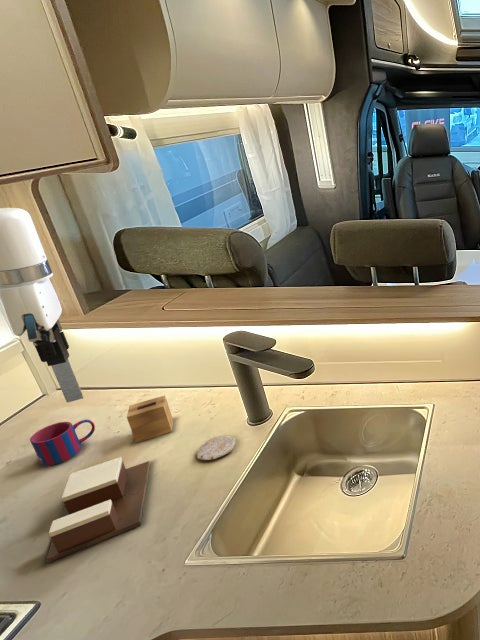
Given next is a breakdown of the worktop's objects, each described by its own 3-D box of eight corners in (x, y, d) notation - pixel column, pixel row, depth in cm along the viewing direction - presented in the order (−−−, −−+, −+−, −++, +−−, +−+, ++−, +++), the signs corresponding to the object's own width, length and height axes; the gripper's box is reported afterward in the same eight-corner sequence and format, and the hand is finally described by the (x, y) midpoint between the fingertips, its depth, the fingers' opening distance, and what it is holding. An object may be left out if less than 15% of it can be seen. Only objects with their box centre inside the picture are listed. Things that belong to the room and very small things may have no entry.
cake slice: (57, 552, 76) (48, 533, 74) (62, 539, 78) (52, 520, 77) (116, 529, 80) (108, 510, 79) (118, 517, 83) (110, 499, 81)
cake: (69, 516, 83) (61, 498, 81) (78, 491, 88) (70, 473, 86) (123, 496, 87) (115, 479, 85) (127, 473, 92) (121, 456, 91)
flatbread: (189, 460, 97) (188, 457, 97) (213, 436, 104) (212, 433, 104) (222, 462, 97) (221, 459, 96) (244, 438, 104) (243, 435, 103)
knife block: (136, 443, 102) (126, 417, 99) (138, 430, 106) (129, 405, 103) (171, 431, 106) (163, 406, 103) (173, 419, 109) (165, 395, 107)
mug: (40, 455, 98) (29, 432, 95) (98, 432, 105) (89, 410, 102) (41, 471, 94) (30, 447, 91) (101, 446, 101) (92, 423, 98)
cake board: (47, 563, 75) (45, 559, 75) (72, 491, 89) (70, 487, 89) (140, 525, 82) (139, 521, 82) (150, 464, 96) (149, 460, 96)
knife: (65, 406, 87) (35, 336, 81) (68, 398, 89) (39, 330, 84) (82, 401, 89) (54, 332, 83) (85, 394, 91) (58, 326, 85)
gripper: (8, 263, 83) (42, 342, 89) (-27, 292, 71) (15, 382, 77) (61, 257, 87) (89, 332, 93) (37, 283, 75) (71, 368, 81)
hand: (55, 354), depth 85 cm, fingers closed on knife, 3 cm apart
